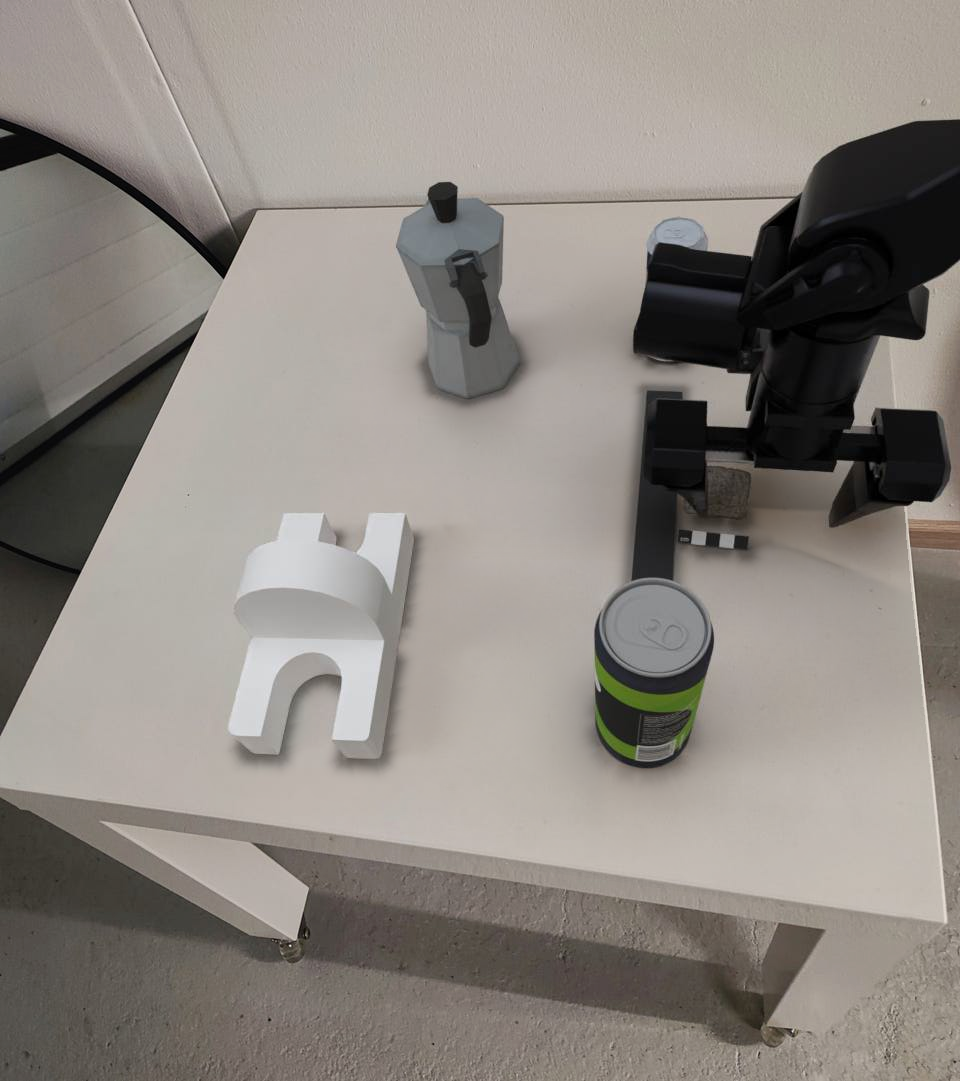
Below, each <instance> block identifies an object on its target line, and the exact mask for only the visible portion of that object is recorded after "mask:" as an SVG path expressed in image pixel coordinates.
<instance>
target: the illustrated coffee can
mask: <svg viewBox="0 0 960 1081" xmlns="http://www.w3.org/2000/svg"><path fill="white" fill-rule="evenodd" d="M659 242H661V243H670V244H677V245H682V246H685V247H688V248H691V249H695V250H703V251H708V247H709V238H708V236H707V234H706V232H705V229H704V226H702V225H701V224H700V223H699V222H698V221H697V220H696V219H694V218H688V217H684V216H674V217H670V218H665V219H663V220H661V221H660V222H659V223H658V224H656V225H655V226H654V227H653V230H652V231H651V233H650V234H649V235H648V237H647V239H646V251H647V253H646V267H645V269H646V270H645V282H646V281H647V270H648V264H649V261H650V258H651V256H652V253H653V250H654V247H655V245H656V244H657V243H659ZM645 285H646V283H645ZM645 285H644V286H645ZM653 359H654V360H657V361H661V362H672V361H671V360H665V359H658V358H653Z"/></svg>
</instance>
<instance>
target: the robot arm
mask: <svg viewBox="0 0 960 1081" xmlns="http://www.w3.org/2000/svg"><path fill="white" fill-rule="evenodd" d="M755 241H756V242H755V245H754V249H753V253H752V255H744V254H737V253H736V254H735V253H730V252H729V253H727V252H719V251H711V250H707V251H703V250H695V249H691V248H688V247H685V246H682V245H677V244H670V243H661V242H659V243H657V244H656V245H655V247H654V250H653V253H652V256H651V258H650V261H649V264H648V270H647V281H646V280H645V284H646V285H644V290H643V295H642V299H641V303H640V309H639V313H638V316H637V320H636V322H635V325H634V329H633V333H632V334H633V335H632V350H633V354H634V356H640V357H646V358H651V359H654V358H658V359H665V360H671V361H670V362H677V363H685V364H691V365H697V366H704V367H711V368H716V369H722V370H726V373H727V374H736V375H737V374H738V375H739V374H741V375H749V376H750V377H749V380H748V385H747V389H746V394H745V412H750V413H749V418H748V422H747V426H746V427H739V426H738V427H737V426H718V425H717V426H716V425H708V400H706V399H705V400H704V399H703V400H702V399H683V398H682V399H660V398H657V399H656V400H655V401H654V402H653V403H651V404H650V405H649V406H648V417H647V429H646V442H645V455H644V467H643V478H644V479H645V480H646V481H647V482H648V483H649V484H650V485H662V487H663V488H664V489H665V490H667V491H674V492H677V495H679V496H680V497H681V498H683V500H684V499H685V500H686V501H687V502H689V503H690V505H691V506H692V507H693V509H694V510H695V511H696V513H697V514H698V515H697V516H698V517H699V519H702V520H706V519H707V514H708V466H709V465H708V463H723V464H740V465H753V468H754V469H762V470H763V469H765V470H781V471H782V470H784V471H799V472H800V471H801V472H814V473H815V472H816V473H834V472H835V469H836V467H837V464H838V461H841V462H842V461H843V462H852V465H851V466H850V468H849V470H848V473H847V474H846V476H845V478H844V480H843V482H842V484H841V486H840V487H839V490H838V491H837V493H836V495H835V497H834V499H833V501H832V504H831V507H830V510H829V513H828V517H827V518H828V527H829V528H830V529H836V528H838V527H841V526H844V525H845V524H848V523H851V522H853V521H856V520H858V519H861V518H863V517H866V516H869V515H872V514H876V513H879V512H882V511H885V510H889V509H892V508H895V507H909V506H911V505H912V504H914V503H915V502H919V503H920V502H922V503H933V502H934V501H936V500H937V499H938V498H939V497H941V496H942V494H943V492H944V490H945V489H946V487H947V485H948V484H949V482H950V480H951V472H952V463H951V457H950V451H949V447H948V446H949V445H948V439H947V435H946V429H945V422H944V419H943V418H942V416H941V415H940V414H939V412H937V410H931V409H914V408H893V407H892V408H891V407H890V408H889V407H875V408H874V410H873V412H872V415H871V417H870V421H871V425H870V426H869V425H853V424H854V421H855V420H856V416H855V406H854V405H855V402H856V400H857V397H858V396H859V392H860V389H861V386H862V384H863V382H864V380H865V376H866V374H867V371H868V369H869V366H870V363H871V361H872V359H873V356H874V354H875V350H876V348H877V346H878V344H879V341H880V337H888V338H894V339H895V338H896V339H903V340H909V341H920V340H922V339H924V337H925V336H926V333H927V324H928V315H929V314H928V313H929V303H930V294H931V293H930V290H929V288H928V287H926V285H925V284H927V283H929V282H931V281H933V280H935V279H937V278H939V277H941V276H943V275H944V274H946V273H947V272H948V271H950V270H951V269H952V268H953V267H954V266H955V265H957V264H958V263H959V262H960V118H958V119H957V118H956V119H955V118H954V119H934V120H933V119H928V120H914V121H910V122H907V123H904V124H901V125H897V126H895V127H891V128H889V129H885V130H882V131H879V132H876V133H873V134H870V135H866V136H864V137H861V138H858V139H854V140H851V141H849V142H846V143H842V144H840V145H838V146H837V147H835V148H834V149H832V150H831V151H829V152H828V153H826V154H825V155H823V156H822V157H821V158H820V159H818V161H817V162H816V163H815V164H814V165H813V167H812V169H811V172H810V173H809V175H808V178H807V179H806V181H805V184H804V186H803V189H802V191H801V192H800V193H798V194H797V195H796V196H795V197H794V198H792V200H790V201H789V202H788V203H787V204H785V205H784V206H782V208H780V210H778V211H777V212H776V213H775V214H773V215H772V216H771V217H770V218H768V219H767V220H766V221H765V222H764V223H762V224H761V225H760V227H759V230H758V234H757V238H756V240H755ZM707 465H708V466H707Z"/></svg>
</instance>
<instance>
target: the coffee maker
mask: <svg viewBox="0 0 960 1081" xmlns="http://www.w3.org/2000/svg"><path fill="white" fill-rule="evenodd" d="M458 188H459V187H458V185H457V184H455V183H453V182H452V181H438V182H436V183H434V184H433V185H431V186H430V187H428V190H427V200H426V201H425V204H424V205H423V206H422V207H421V208H419V209H417V210H416V211H414V212H412V213H410V214H409V215H407V216H405V217H404V218H402V222H401V225H400V228H399V232H398V235H397V240H396V243H395V248H396V249H397V253H398V255H399V257H400V259H401V262H402V264H403V266H404V269H405V271H406V274H407V277H408V279H409V282H410V284H411V286H412V288H413V291H414V293H415V296H416V298H417V301H418V303H419V305H420V307H421V308H423V309H424V310H425V314H426V318H425V319H426V341H427V343H426V344H427V366H428V368H429V372H430V374H431V377H432V380H433V383H434V386H435V388H436V389H437V390H440V391H442V392H446V393H449V394H451V395H454V396H457V397H459V398H463V399H466V400H470V399H473V398H477V397H480V396H484V395H488V394H490V393H494V392H497V391H501V390H504V388H505V387H506V386H507V385H508V383H509V381H510V380H511V379H512V377H513V376H514V374H515V373H516V371H517V370H518V369H519V367H520V366H521V361H520V358H519V354H518V352H517V349H516V346H515V342H514V340H513V336H512V332H511V330H510V326H509V324H508V320H507V318H506V313H505V312H504V308H503V306H502V303H501V300H500V297H499V294H500V291H501V287H502V284H503V263H504V260H503V259H504V230H505V229H504V227H505V226H504V225H505V224H504V222H505V218H504V215H503V214H502V213H500V212H499V211H497V210H496V209H495V208H493V207H492V206H490V205H488V204H487V203H486V202H484V201H482V200H481V199H480V198H478V197H469V198H468V197H465V198H463V197H462V198H458V192H459V191H458V190H459V189H458Z"/></svg>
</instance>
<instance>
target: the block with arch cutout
mask: <svg viewBox="0 0 960 1081" xmlns="http://www.w3.org/2000/svg"><path fill="white" fill-rule="evenodd" d="M282 514H283V515H282V518H281V522H280V526H279V530H278V533H277V537H276V540H274V541H269V542H266V543H263V544H261V545H259V546H258V547H256V548H254V549H252V550H251V552H250V553H249V555H248V556H247V557H246V560H245V564H244V568H243V571H242V576H241V579H240V583H239V586H238V589H237V593H236V596H235V600H234V603H233V615H234V616H235V619H236V621H237V622H238V624H239V625H240V626H241V627H242V628H243V630H244V631H245V632H246V634H248V636H249V637H250V639H249V640H250V641H249V643H248V647H247V650H246V655H245V659H244V663H243V666H242V670H241V675H240V679H239V683H238V686H237V689H236V694H235V697H234V702H233V705H232V709H231V713H230V717H229V719H228V724H227V730H228V732H229V733H230V734H231V735H232V737H234V738H235V739H236V740H237V741H238V742H240V744H242V745H243V746H244V747H245V748H246V749H247V750H248V751H249V752H250V753H252V754H255V755H275V756H276V755H277V756H279V755H280V752H281V749H282V743H283V739H284V734H285V731H286V730H285V729H286V725H287V722H288V717H289V712H290V708H291V704H292V701H293V698H294V696H295V695H296V693H297V691H298V690H299V689H300V688H301V686H303V684H304V683H306V682H307V681H309V680H311V679H312V678H315V677H318V676H322V675H332V676H338V677H340V678H341V685H340V686H341V687H340V692H339V696H338V702H337V707H336V713H335V719H334V723H333V729H332V735H331V741H332V742H333V743H334V745H335V746H336V748H338V749H339V751H340V752H341V753H342V754H343V756H344V757H345V758H346V759H361V760H363V759H365V760H366V759H367V760H378V759H380V758H381V757H382V755H383V754H382V753H383V749H384V742H385V736H386V729H387V722H388V716H389V710H390V702H391V696H392V690H393V684H394V676H395V671H396V670H395V669H396V664H397V663H396V662H397V655H398V649H399V643H400V636H401V631H402V630H401V629H402V622H403V618H404V611H405V610H404V609H405V602H406V596H407V590H408V583H409V577H410V571H411V564H412V557H413V551H414V544H415V537H414V534H413V532H412V529H411V525H410V523H409V520H408V517H407V514H406V512H368V518H367V523H366V528H365V533H364V539H363V541H362V543H361V544H362V545H360V547H359V549H358V550H357V551H356V552H354V551H353V550H350V549H347V548H344V547H342V546H338V545H337V542H338V541H337V540H338V538H337V535H336V533H335V532H334V530H333V527H332V526H331V523H330V521H329V519H328V518H327V516H326V514H325V512H284V513H282Z"/></svg>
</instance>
